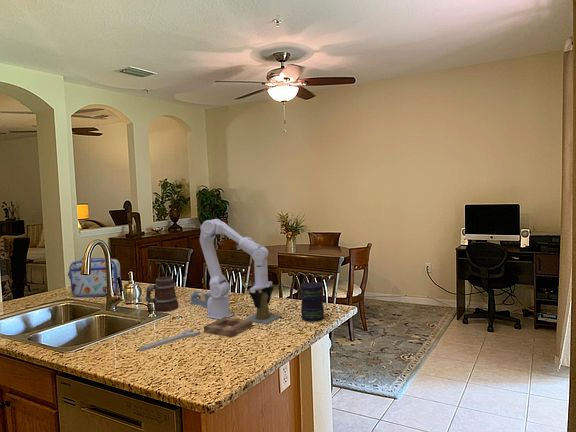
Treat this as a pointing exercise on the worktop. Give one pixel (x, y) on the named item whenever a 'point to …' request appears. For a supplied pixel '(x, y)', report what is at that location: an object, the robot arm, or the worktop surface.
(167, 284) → the mug
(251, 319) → the rubber mat
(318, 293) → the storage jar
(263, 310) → the olive brown rounded piece
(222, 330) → the walnut holder
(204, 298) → the vise
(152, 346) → the adjustable wrench
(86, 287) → the lunch box
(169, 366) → the worktop surface
